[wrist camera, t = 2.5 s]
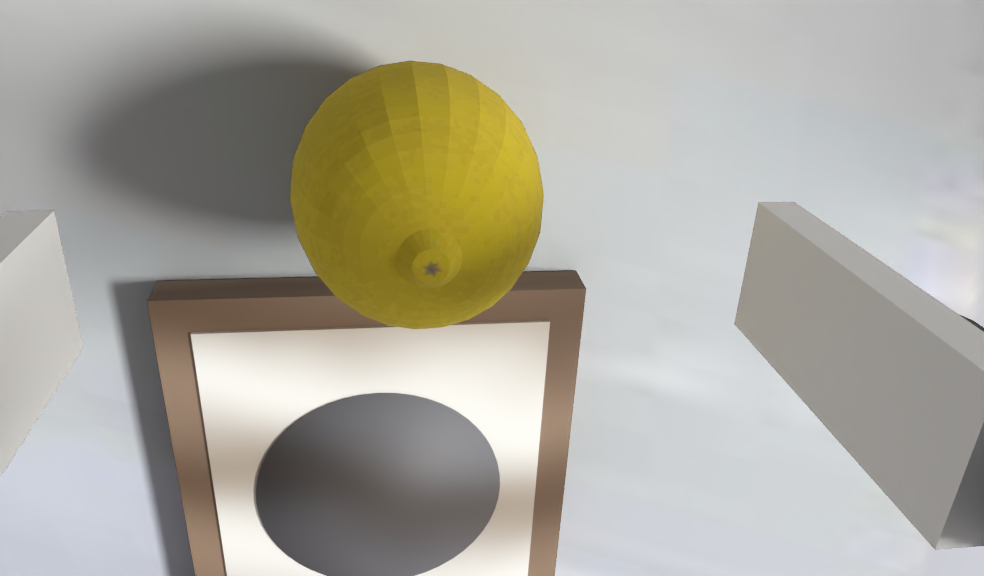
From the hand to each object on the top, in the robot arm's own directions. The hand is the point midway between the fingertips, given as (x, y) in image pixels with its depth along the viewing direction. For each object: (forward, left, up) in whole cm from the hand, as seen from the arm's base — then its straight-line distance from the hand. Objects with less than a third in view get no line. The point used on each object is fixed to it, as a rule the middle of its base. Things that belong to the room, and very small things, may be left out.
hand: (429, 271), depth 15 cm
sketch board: (+11, -1, -7) cm, 13 cm away
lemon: (0, 0, -7) cm, 7 cm away
